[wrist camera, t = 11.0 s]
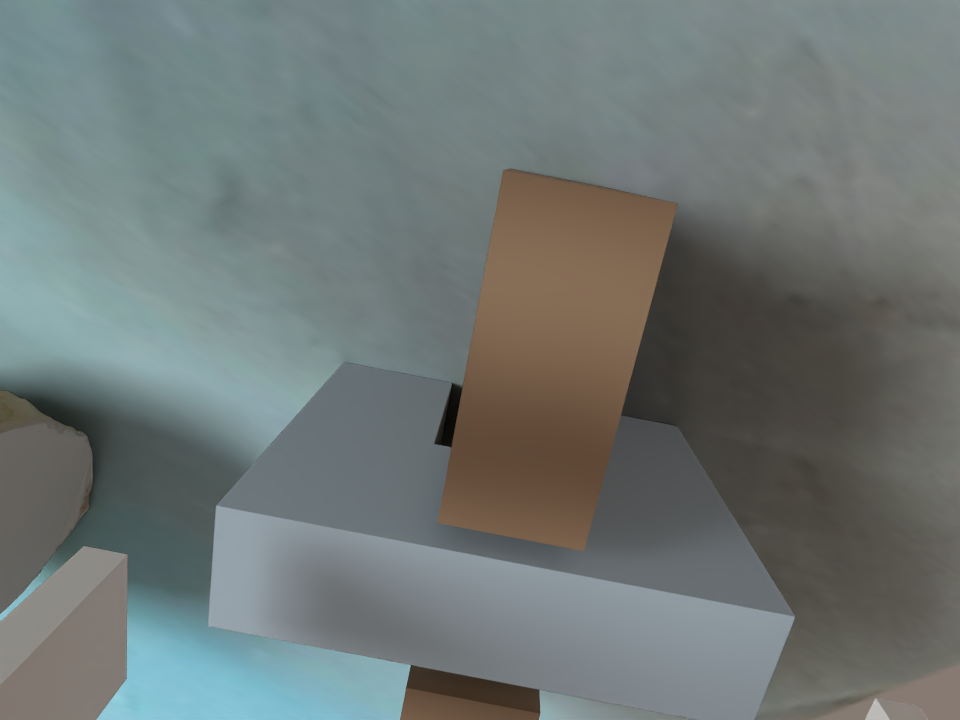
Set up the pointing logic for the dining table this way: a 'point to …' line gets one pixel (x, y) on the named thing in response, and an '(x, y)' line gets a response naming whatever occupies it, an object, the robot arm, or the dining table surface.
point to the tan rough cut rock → (37, 490)
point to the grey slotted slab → (495, 562)
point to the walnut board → (544, 386)
